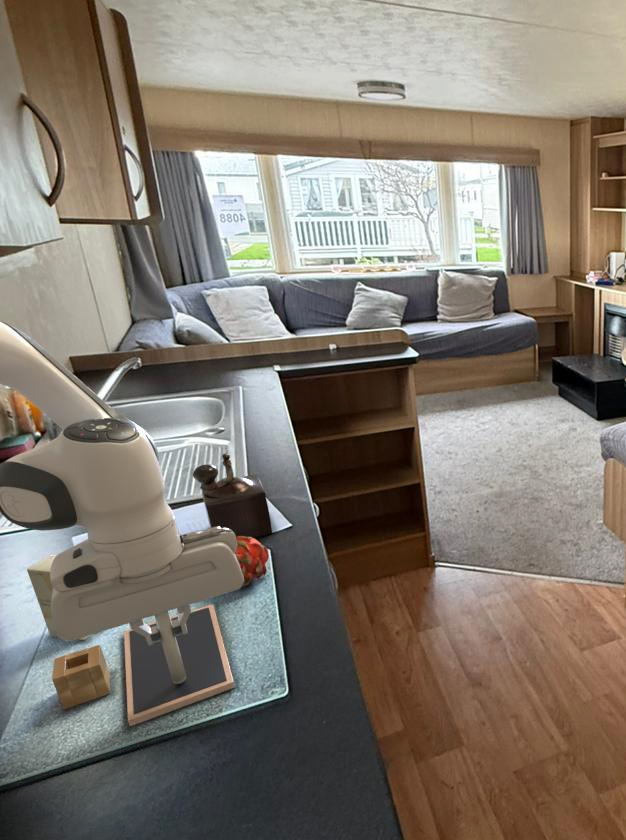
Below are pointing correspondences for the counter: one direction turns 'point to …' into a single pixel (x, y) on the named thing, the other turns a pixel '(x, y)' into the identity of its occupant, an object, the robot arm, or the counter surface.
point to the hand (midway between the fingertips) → (168, 637)
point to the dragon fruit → (251, 558)
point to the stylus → (170, 647)
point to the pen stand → (81, 676)
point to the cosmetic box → (44, 590)
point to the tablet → (152, 676)
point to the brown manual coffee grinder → (234, 501)
